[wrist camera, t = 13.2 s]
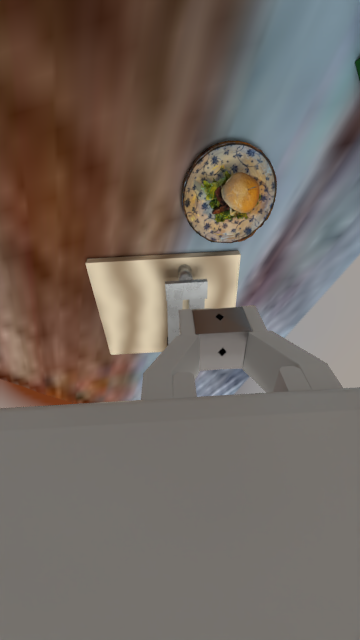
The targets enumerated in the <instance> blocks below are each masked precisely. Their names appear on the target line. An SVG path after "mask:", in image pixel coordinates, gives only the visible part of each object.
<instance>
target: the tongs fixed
mask: <svg viewBox="0 0 360 640" xmlns="http://www.w3.org/2000/svg"><path fill="white" fill-rule="evenodd" d="M207 288H208V281H207V279H196V280H193V276H192V270H191V267H190V266H189V265H187V264H183V265H181V266H180V267H179V268H178V281H165V290H166V301H173V300H188V306H189V309H191V310H192V309H205V299H207Z"/></svg>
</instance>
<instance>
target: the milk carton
mask: <svg viewBox="0 0 360 640" xmlns="http://www.w3.org/2000/svg"><path fill="white" fill-rule="evenodd" d="M355 64H356V68H357V72H358V76H359V80H360V58H359V59H358V60H357V61H356V62H355Z"/></svg>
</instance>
